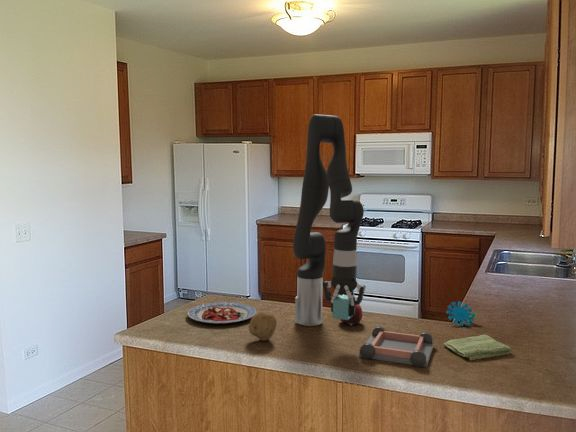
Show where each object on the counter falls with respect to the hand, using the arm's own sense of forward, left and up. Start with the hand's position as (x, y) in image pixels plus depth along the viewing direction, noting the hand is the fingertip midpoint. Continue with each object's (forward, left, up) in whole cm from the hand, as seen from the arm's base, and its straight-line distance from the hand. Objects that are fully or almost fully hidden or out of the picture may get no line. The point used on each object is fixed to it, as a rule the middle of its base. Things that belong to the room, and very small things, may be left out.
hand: (343, 314), depth 166 cm
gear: (+34, +39, -10) cm, 53 cm away
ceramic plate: (-51, +12, -11) cm, 53 cm away
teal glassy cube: (0, 0, 0) cm, 0 cm away
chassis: (+17, +1, -10) cm, 20 cm away
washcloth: (+40, +12, -11) cm, 44 cm away
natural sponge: (-26, -6, -10) cm, 28 cm away
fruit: (-4, +23, -10) cm, 25 cm away
